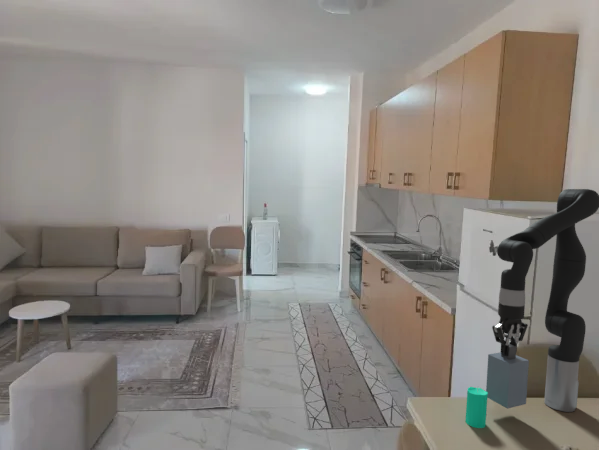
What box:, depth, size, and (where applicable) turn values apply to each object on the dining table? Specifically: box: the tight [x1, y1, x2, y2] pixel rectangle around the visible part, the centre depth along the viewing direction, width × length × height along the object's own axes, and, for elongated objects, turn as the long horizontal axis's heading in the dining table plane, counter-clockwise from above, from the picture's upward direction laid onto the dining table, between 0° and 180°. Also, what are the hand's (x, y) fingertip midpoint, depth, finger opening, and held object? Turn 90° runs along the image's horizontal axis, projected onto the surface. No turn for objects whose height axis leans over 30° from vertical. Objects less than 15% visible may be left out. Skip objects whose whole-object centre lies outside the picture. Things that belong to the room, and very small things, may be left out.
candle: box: [465, 386, 488, 429], centre depth 133 cm, size 6×6×12 cm
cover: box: [485, 344, 530, 409], centre depth 138 cm, size 8×8×18 cm
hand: (508, 354), depth 137 cm, fingers closed on cover, 3 cm apart
